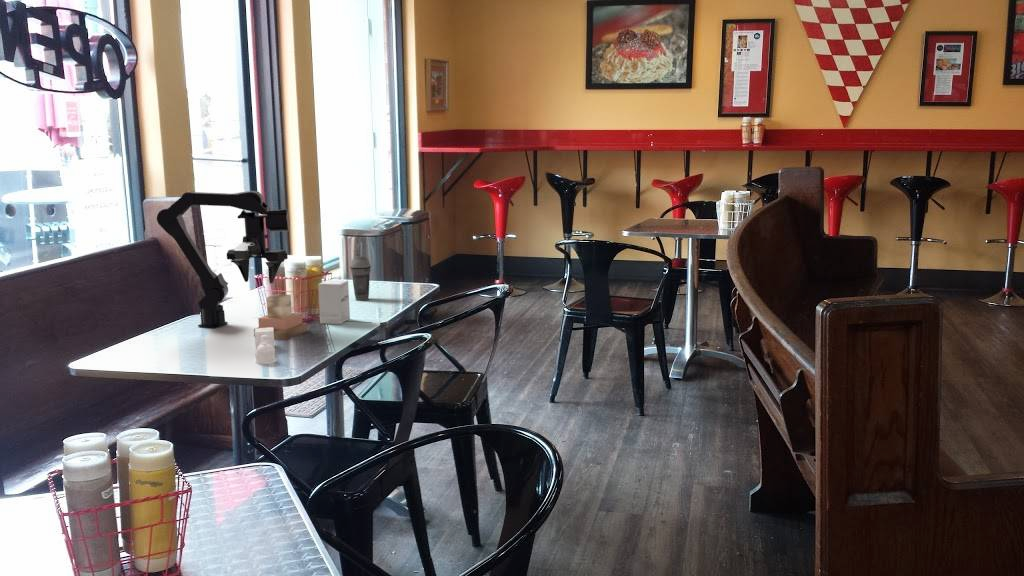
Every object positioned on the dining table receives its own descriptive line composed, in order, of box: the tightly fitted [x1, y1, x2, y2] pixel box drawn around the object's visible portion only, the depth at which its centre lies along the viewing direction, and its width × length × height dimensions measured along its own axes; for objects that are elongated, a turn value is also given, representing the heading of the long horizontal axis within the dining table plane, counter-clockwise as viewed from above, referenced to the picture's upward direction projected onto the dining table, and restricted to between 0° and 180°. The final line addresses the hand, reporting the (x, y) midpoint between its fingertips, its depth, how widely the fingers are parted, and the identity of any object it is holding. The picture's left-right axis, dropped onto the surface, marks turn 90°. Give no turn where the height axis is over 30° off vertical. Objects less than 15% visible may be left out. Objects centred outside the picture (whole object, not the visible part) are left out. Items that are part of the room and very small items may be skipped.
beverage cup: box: [349, 242, 372, 302], centre depth 310 cm, size 7×7×20 cm
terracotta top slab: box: [257, 312, 303, 330], centre depth 264 cm, size 9×9×3 cm
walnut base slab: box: [253, 322, 309, 341], centre depth 264 cm, size 11×11×3 cm
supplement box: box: [317, 279, 351, 325], centre depth 278 cm, size 7×7×13 cm
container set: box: [254, 327, 277, 365], centre depth 241 cm, size 20×5×6 cm, turn 16°
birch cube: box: [266, 293, 293, 318], centre depth 263 cm, size 5×5×6 cm
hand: (258, 282), depth 276 cm, fingers open, 9 cm apart
